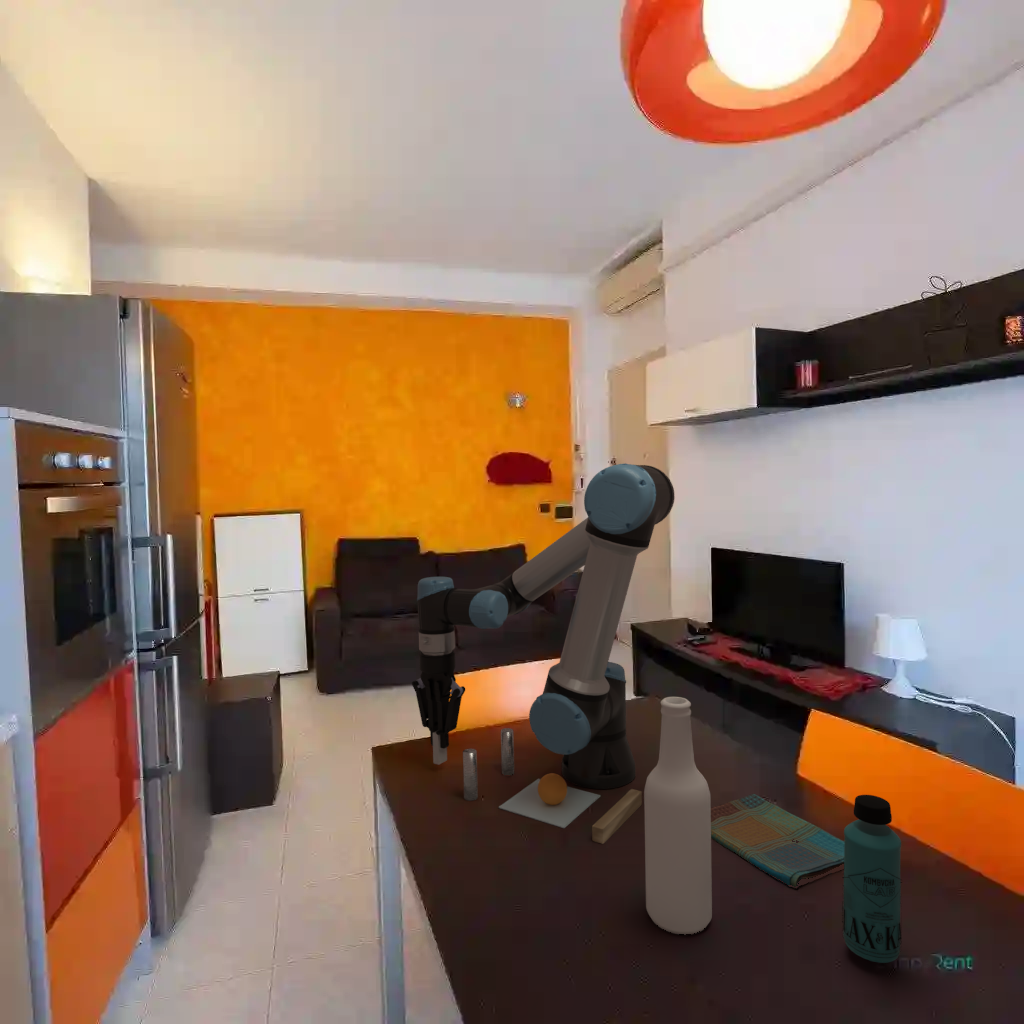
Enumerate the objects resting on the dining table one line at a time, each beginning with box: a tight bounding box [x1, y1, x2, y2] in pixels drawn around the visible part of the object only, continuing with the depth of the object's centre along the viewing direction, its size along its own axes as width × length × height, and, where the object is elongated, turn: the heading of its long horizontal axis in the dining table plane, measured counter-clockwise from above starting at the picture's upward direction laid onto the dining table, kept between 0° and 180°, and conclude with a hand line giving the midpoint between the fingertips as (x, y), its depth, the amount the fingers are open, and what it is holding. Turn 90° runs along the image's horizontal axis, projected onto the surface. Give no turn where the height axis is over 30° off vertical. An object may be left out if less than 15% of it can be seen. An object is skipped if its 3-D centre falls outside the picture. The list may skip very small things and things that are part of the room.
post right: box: [500, 728, 515, 776], centre depth 138 cm, size 3×3×9 cm
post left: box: [462, 748, 479, 801], centre depth 128 cm, size 3×3×9 cm
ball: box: [538, 772, 568, 805], centre depth 124 cm, size 6×6×6 cm
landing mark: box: [498, 778, 601, 829], centre depth 125 cm, size 14×14×1 cm
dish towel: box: [711, 793, 845, 887], centre depth 110 cm, size 17×23×2 cm
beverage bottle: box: [841, 794, 903, 964], centre depth 82 cm, size 6×7×20 cm
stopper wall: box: [591, 788, 643, 845], centre depth 117 cm, size 2×16×2 cm, turn 146°
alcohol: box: [643, 696, 713, 936], centre depth 91 cm, size 9×9×30 cm
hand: (440, 761), depth 140 cm, fingers closed
